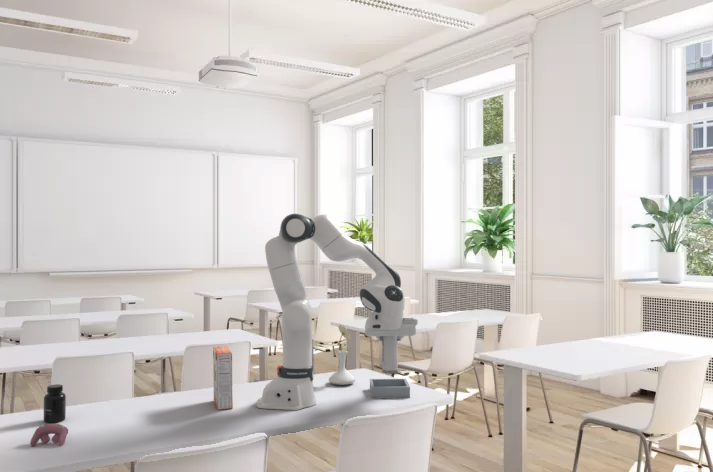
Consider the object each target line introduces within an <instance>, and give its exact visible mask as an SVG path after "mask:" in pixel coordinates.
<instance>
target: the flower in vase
mask: <svg viewBox="0 0 713 472" xmlns="http://www.w3.org/2000/svg"><path fill="white" fill-rule="evenodd" d="M337 327H338V331H339V332H340V335H341V336H340V339H339V341H338V342H337V346H339V348H340V350H336V352H335V353H336V354H337V356H338V361H339V366H338V369H337V371H334V373H333V374H332V375H331V376H330V377H329V378H328V382H329V383H330V384H332V385H338V386H346V385H347V386H348V385H351V384H353V383H355V381H356V378H355V376H354V375H352V374H351V373H350V372H349V371H348V370H347V369H346V367H345V365H346V364H345V363H346V356H347V354H348V351H347V350H342V349H343V348H344V347H346V343H344V345H342V346H341V341H342V340H341V339H342V337H344V339H346V340H347V341H350V340H352V338H351V337H352V335H351V334H350V332H349V329H348V328H346V327H345V325H342V324H339V325H338V326H337Z"/></svg>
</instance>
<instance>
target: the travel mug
mask: <svg viewBox="0 0 713 472" xmlns="http://www.w3.org/2000/svg"><path fill="white" fill-rule="evenodd" d="M398 354H399V352H398V341H397V336H382V341H381V372H382V373H383V374H387V375H389V374H397V373H398V372H399V371H398V369H399V365H398V364H399V363H398V361H399V359H398V357H399V356H398Z"/></svg>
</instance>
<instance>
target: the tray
mask: <svg viewBox="0 0 713 472" xmlns="http://www.w3.org/2000/svg"><path fill="white" fill-rule="evenodd" d="M369 392H370V396H371V398H372V399H381V398H382V399H385V398H386V399H391V398H392V399H393V398H394V399H404V398H411V386H410V384H409V382H408V380H407V378H370V379H369Z"/></svg>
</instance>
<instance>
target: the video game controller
mask: <svg viewBox="0 0 713 472" xmlns="http://www.w3.org/2000/svg"><path fill="white" fill-rule="evenodd" d="M51 434H53V436H51V437H50V435H51ZM68 434H69V428H68V427H67V426H64V425H63V424H60V423H45V424H42V425H38V427H37V428H36V429H35V431H34V432H33V435H32V437H31V439H30V442H29V443H30V444H29V445H30V447H32V448H33V447H34V446H36V445H37V443H38V442H39V441H41V443H43V444H48V443H49V442H50V441H51V442H52V443H54V444H58V446H59V447H61V446H63V445H64V443H65V442H66V439H67V435H68Z"/></svg>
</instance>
